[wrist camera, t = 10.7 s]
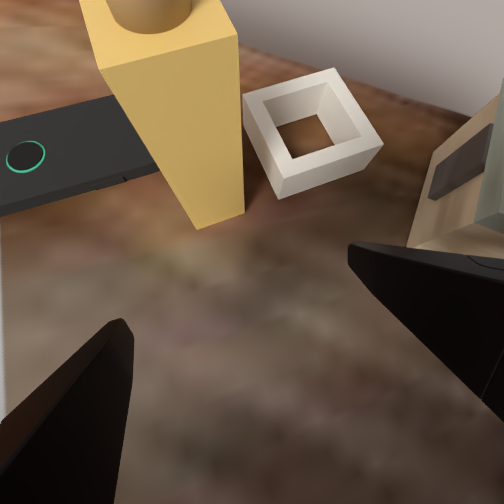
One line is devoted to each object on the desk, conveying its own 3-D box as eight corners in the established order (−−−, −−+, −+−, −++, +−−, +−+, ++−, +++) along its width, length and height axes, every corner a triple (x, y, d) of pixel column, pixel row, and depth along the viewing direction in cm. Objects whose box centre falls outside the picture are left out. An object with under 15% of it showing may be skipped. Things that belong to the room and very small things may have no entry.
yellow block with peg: (244, 213, 18) (232, -83, 5) (196, 229, 18) (29, -44, 4) (227, 172, 19) (177, -170, 6) (182, 187, 19) (8, -145, 5)
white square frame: (363, 169, 19) (384, 144, 16) (278, 199, 18) (283, 178, 16) (322, 101, 21) (334, 67, 18) (243, 125, 20) (242, 94, 17)
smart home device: (-110, 145, 18) (140, 84, 20) (-80, 160, 20) (148, 102, 22) (-119, 239, 16) (161, 160, 18) (-84, 246, 17) (169, 173, 20)
